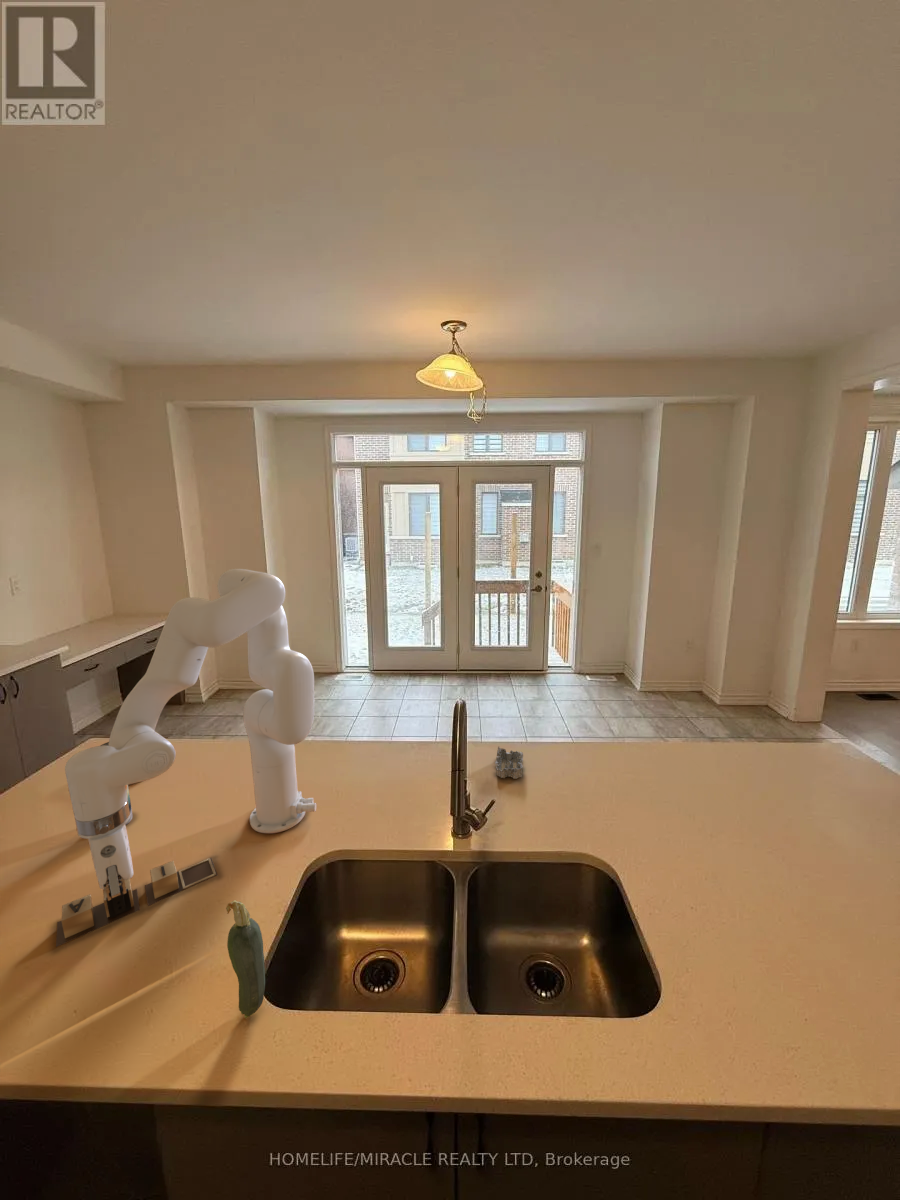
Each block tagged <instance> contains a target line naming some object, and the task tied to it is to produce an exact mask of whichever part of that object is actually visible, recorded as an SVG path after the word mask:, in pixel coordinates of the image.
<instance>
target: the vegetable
mask: <svg viewBox="0 0 900 1200" xmlns="http://www.w3.org/2000/svg"><path fill="white" fill-rule="evenodd" d="M225 909H226V912H227V913H226V914H228V915H229V914H230V912H231V910H232V911H233V919H234V924H233V925H232V926H231V927H230V929H229V931H228V935H227V942H226V943H227V945H226V946H227V952H228V957H229V960H230V964H231V966H232V969H233V971H234V973H235V975H236V977H237V982H238V1010H239V1012H240V1014H241V1015H243V1016H244V1017H243V1018H244V1019H245V1020H246V1019H248V1018H249V1017H251V1016H253V1015H254V1014H255V1013H256V1012H257V1011H258V1010H259V1009H260V1008H261V1006H262V1004H263V1002H264V998H265V989H266V971H265V970H266V969H265V968H266V967H265V953H264V940H263V934H262V930H261V928H260V925H259V923H258V922H257V921H256V920H255V919H253V918H252V917H251V915H250V912H249V910H248V908H246V905H245V903H243V902H242V901H237V900H236V899H235V900H232V901H230V902H229V903H227V905H226V907H225Z"/></svg>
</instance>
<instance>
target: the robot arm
mask: <svg viewBox="0 0 900 1200" xmlns="http://www.w3.org/2000/svg"><path fill="white" fill-rule="evenodd" d="M216 585H217V586H216V587H217V592H218V594H219V597H218V598H215V599H213V600H212V599H208V598H202V597H193V596H192V597H190V596H189V597H184V598H182V599H179V600H177V601H176V602H175V603H174V604H173V605H172V607H171V608H170V610H169V612H168V615H167V617H166V619H165V622H164V624H163V625H164V626H163V628H162V630H161V632H160V635H159V638H158V641H157V644H156V646H155V649H154V652H153V655H152V657H151V659H150V661H149V662H150V663H149V665H148V667H147V670H146V672H145V674H144V675H143V676H142V677H141V679H139V681H138V682H137V683H136V684H135V686H134V687H133V688H132V690H131V691H130V692H129V693H128V694H127V696H126V698H124V700H123V702H122V704H121V705H120V708H119V710H118V713H117V715H116V718H115V721H114V723H113V725H112V729H111V731H110V735H109V740H108V742H109V746H100V745H97V746H92V747H89V748H85V749H83V750H81V751H78V752H76V753H75V754H73V755H71V757H70V758H68V760H67V761H66V763H65V765H64V772H65V773H64V774H65V777H66V778H65V779H66V783H67V787H68V792H69V798H70V802H71V806H72V813H73V817H74V822H75V827H76V831H77V835H78V837H80V838H81V839H86V840H88V845H89V850H90V854H91V860H92V864H93V868H94V871H95V875H96V879H97V883H98V886H99V889H101V890H103V889H105V887H106V893H107V898H106V901H107V906H108V911H109V916H110V918H113V917H115V916H117V915H119V914H121V913H124V912H126V911H128V910H130V909H131V902H130V897H129V891H128V889H126V885H125V880H127V879H129V878H130V879H132V878H133V876H134V866H133V858H132V853H131V846H130V840H129V835H128V830H127V826H126V825H127V824H126V823H127V822H128V820H129V819H130V811H129V805H128V799H127V793H126V788H125V785H128V786H130V785H133V784H137V783H140V782H145V781H149V780H152V779H155V778H157V777H160V776H161V775H164V774H165V773H167V771H169V770H170V769H171V767H172V766H173V764H174V762H175V760H176V756H177V754H176V753H177V752H176V749H175V747H174V745H173V744H172V743H171V741H169V740H168V739H166V738H165V737H164V736H162V735H161V734H160V733H158V732H157V731H156V727H157V725H158V722H159V719H160V716H161V715H162V712H163V710H164V708H165V706H166V705H167V703H168V702H169V701H170V700H171V698H172V697H174V696H175V695H178V693H181V692H182V691H185V690H187V689H189V688H191V687H193V686H195V684H196V683H197V681H198V678H199V676H200V673H201V670H202V666H203V664H204V661H205V659H206V656H207V653H208V651H209V648H211V649H212V648H219V647H222V646H224V645H226V644H229V643H231V642H232V641H234V640H236V639H238V638H239V637H241V636H242V635H244V634H246V636H247V672H248V676H249V678H250V680H251V682H253V683H254V684H256V685H258V686H259V687H262V689H260V690H257V691H255V692H253V693H252V694H251V695H250V696H249V697H248V698H247V700H246V701H245V702H244V705H243V710H242V717H243V718H242V719H243V724H244V728H245V729H244V730H245V732H246V735H247V740H248V744H249V750H250V751H249V752H250V760H251V761H250V762H251V772H252V782H253V793H254V801H255V802H254V803H255V804H254V805H255V808H254V809H253V810H252V811H251V813H250V815H249V825H250V827H251V829H252V830H254V831H255V832H258V833H260V834H276V833H282V832H284V831H287V830H289V829H291V828H293V827H294V826H297V824H299V823H300V822H301V821H302V820H303V819H304V817H305V816H306V812H307V813H315V812H316V811H317V807H318V806H317V805H318V804H317V802H314V801H315V799H314V797H308V798H307V797H306V798H305V797H303V794H302V793H303V791H301V790H300V791H299V790H298V778H297V777H298V776H297V765H296V762H297V761H296V747H295V745H298V744H300V743H302V742H303V741H304V740H305V739H306V738H307V737H308V736H309V734H310V732H311V731H312V728H313V725H314V720H315V673H314V667H313V664H312V663H311V662H310V661H311V660H309V659H308V657H307V656H305V654H303V653H301V652H298V651H296V650H294V649H291V647H290V642H289V627H288V625H289V624H288V619H287V614H286V612H285V609H284V606H283V604H284V602H285V600H286V588H285V585H284V583H283V581H282V580H281V579H280V578H279V577H277V576H276V575H273V574H271V573H268V572H264V571H257V570H252V569H245V568H232V569H231V568H230V569H228V570H226V571H224V572H223V573H222V574H221V575H220V576H219V578H218V580H217V584H216ZM263 688H264V689H263ZM125 824H126V825H125ZM119 882H121V884H122V887H121V886H120V887H119Z"/></svg>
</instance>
